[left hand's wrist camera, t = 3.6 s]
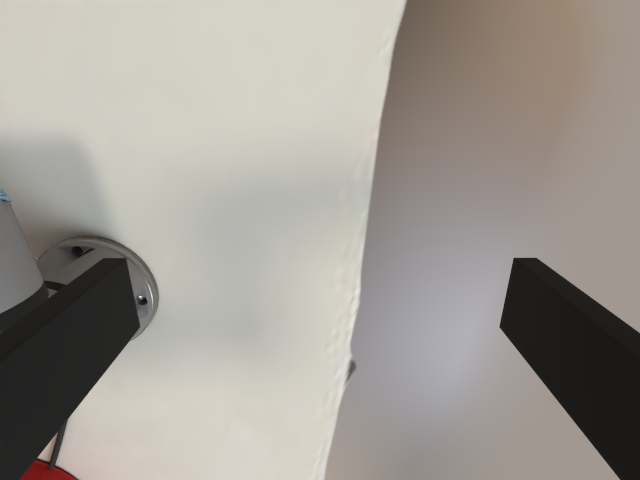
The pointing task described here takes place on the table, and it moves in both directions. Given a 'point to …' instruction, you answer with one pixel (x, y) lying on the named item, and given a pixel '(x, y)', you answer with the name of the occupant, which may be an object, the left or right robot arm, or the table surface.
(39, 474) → the bucket
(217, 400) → the table surface
